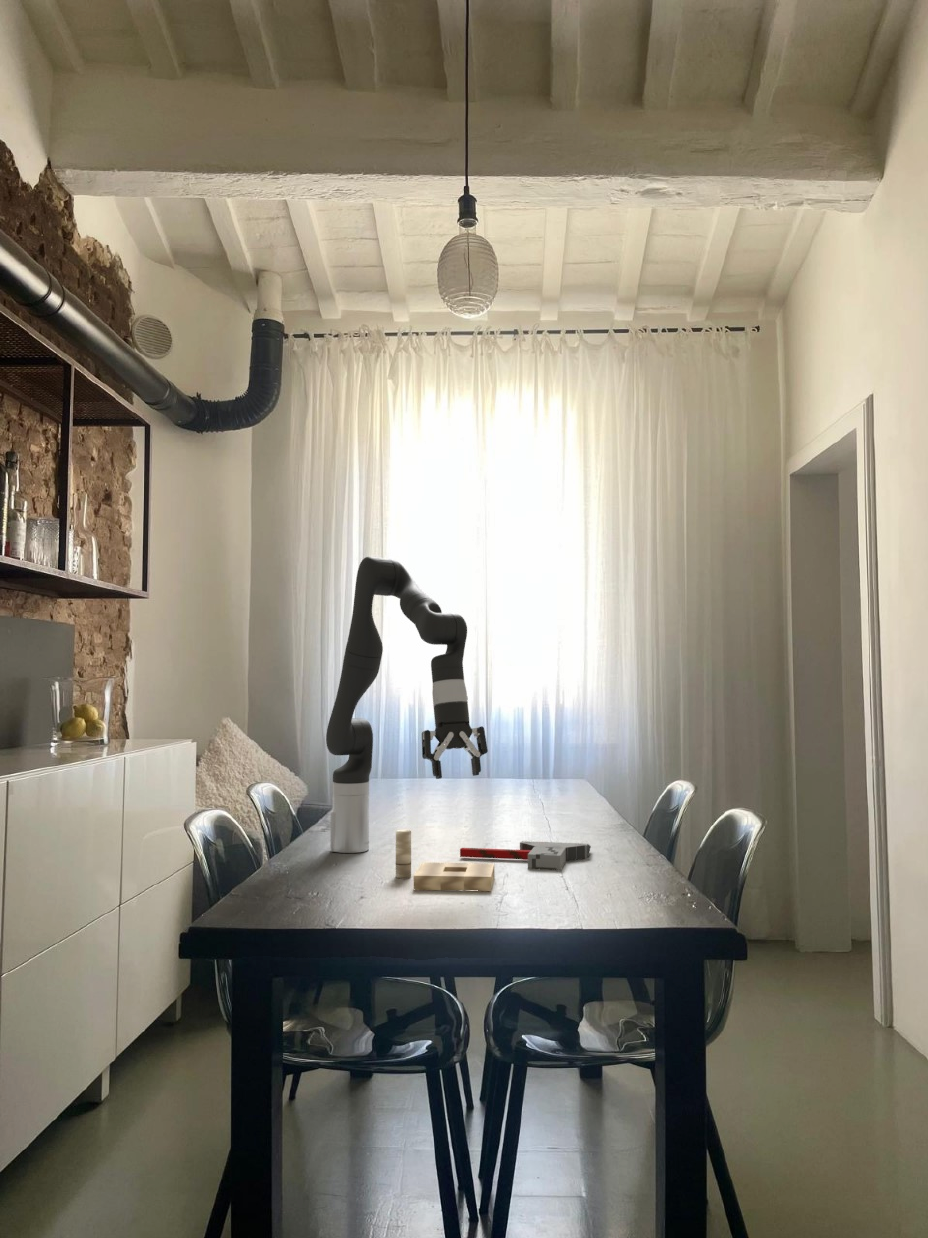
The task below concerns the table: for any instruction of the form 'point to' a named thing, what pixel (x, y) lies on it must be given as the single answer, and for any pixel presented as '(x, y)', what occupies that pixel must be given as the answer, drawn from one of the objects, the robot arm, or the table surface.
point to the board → (454, 876)
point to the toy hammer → (536, 853)
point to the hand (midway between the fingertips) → (457, 777)
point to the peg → (403, 853)
